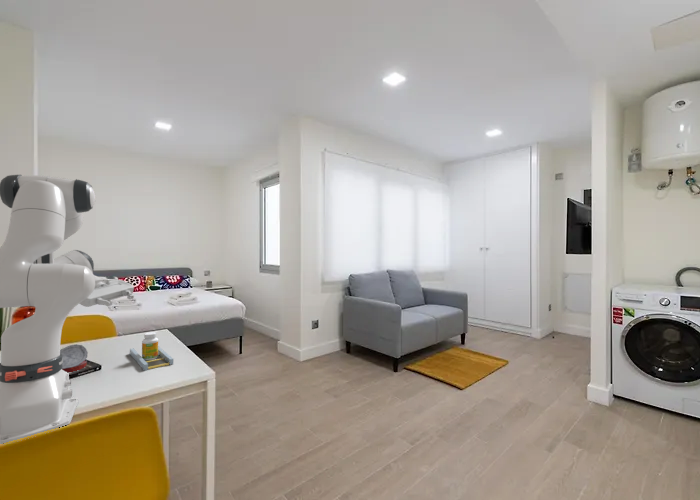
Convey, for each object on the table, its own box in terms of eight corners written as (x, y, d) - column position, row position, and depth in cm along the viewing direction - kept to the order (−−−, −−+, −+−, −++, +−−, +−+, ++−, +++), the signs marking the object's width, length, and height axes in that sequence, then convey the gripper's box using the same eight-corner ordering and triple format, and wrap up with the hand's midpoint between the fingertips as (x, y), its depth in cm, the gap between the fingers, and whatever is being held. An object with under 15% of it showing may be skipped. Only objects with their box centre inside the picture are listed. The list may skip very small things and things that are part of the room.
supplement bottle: (144, 361, 124) (144, 336, 123) (140, 358, 127) (140, 333, 127) (160, 358, 127) (160, 333, 127) (155, 354, 131) (155, 330, 131)
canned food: (87, 380, 117) (101, 356, 117) (57, 389, 107) (72, 363, 107) (65, 363, 119) (79, 339, 119) (34, 370, 109) (49, 344, 109)
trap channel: (173, 364, 121) (173, 358, 121) (144, 370, 115) (144, 364, 115) (156, 348, 138) (156, 344, 138) (129, 353, 132) (129, 348, 132)
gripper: (68, 287, 121) (96, 300, 119) (119, 275, 141) (144, 287, 138) (66, 302, 123) (94, 316, 120) (116, 288, 142) (142, 300, 140)
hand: (121, 300), depth 129 cm, fingers open, 8 cm apart
